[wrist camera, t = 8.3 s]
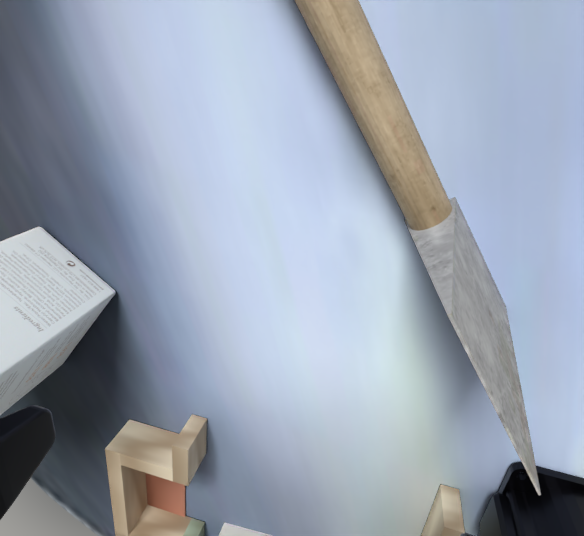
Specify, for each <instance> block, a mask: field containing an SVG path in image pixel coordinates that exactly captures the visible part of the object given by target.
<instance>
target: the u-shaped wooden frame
mask: <svg viewBox="0 0 584 536" xmlns="http://www.w3.org/2000/svg"><path fill="white" fill-rule="evenodd" d="M206 443H207V418H203V417H200V416H196V415H193V414H192V415H191V417H190V418H189V420H188V421H187V423H186V425H185V426H184V428H183V429H182V431H181V432H180V434H178V433H174V432H171V431H167V430H164V429H161V428H157V427H154V426H150V425H147V424H143V423H140V422H137V421H133V420H130V419H129V421H128V422H127V423H126V424H125V425H124V427H123V428H122V429H121V430H120V431H119V433H118V434H117V435H116V436H115V437H114V439H113V440H112V441H111V442H110V443H109V445H108V446H107V447H106V448H105V453H106V461H107V469H108V477H109V486H110V494H111V502H112V510H113V518H114V527H115V535H116V536H204V529H205V522H202V521H199V520H196V519H193V518H190V517H187V516H186V511H185V485H186V486H189V484H190V482H191V480H192V478H193V477H194V475H195V473H196V471H197V469H198V467H199V466H200V464H201V462H202V460H203V458H204V456H205V455H206ZM462 533H465V530H464V523H463V515H462V508H461V500H460V493H459V489H455V488H452V487H448V486H444V485H441V484H440V487H439V489H438V492H437V495H436V497H435V500H434V503H433V505H432V508H431V511H430V513H429V516H428V518H427V521H426V524H425V526H424V529H423V532H422V534H421V536H460V534H462Z"/></svg>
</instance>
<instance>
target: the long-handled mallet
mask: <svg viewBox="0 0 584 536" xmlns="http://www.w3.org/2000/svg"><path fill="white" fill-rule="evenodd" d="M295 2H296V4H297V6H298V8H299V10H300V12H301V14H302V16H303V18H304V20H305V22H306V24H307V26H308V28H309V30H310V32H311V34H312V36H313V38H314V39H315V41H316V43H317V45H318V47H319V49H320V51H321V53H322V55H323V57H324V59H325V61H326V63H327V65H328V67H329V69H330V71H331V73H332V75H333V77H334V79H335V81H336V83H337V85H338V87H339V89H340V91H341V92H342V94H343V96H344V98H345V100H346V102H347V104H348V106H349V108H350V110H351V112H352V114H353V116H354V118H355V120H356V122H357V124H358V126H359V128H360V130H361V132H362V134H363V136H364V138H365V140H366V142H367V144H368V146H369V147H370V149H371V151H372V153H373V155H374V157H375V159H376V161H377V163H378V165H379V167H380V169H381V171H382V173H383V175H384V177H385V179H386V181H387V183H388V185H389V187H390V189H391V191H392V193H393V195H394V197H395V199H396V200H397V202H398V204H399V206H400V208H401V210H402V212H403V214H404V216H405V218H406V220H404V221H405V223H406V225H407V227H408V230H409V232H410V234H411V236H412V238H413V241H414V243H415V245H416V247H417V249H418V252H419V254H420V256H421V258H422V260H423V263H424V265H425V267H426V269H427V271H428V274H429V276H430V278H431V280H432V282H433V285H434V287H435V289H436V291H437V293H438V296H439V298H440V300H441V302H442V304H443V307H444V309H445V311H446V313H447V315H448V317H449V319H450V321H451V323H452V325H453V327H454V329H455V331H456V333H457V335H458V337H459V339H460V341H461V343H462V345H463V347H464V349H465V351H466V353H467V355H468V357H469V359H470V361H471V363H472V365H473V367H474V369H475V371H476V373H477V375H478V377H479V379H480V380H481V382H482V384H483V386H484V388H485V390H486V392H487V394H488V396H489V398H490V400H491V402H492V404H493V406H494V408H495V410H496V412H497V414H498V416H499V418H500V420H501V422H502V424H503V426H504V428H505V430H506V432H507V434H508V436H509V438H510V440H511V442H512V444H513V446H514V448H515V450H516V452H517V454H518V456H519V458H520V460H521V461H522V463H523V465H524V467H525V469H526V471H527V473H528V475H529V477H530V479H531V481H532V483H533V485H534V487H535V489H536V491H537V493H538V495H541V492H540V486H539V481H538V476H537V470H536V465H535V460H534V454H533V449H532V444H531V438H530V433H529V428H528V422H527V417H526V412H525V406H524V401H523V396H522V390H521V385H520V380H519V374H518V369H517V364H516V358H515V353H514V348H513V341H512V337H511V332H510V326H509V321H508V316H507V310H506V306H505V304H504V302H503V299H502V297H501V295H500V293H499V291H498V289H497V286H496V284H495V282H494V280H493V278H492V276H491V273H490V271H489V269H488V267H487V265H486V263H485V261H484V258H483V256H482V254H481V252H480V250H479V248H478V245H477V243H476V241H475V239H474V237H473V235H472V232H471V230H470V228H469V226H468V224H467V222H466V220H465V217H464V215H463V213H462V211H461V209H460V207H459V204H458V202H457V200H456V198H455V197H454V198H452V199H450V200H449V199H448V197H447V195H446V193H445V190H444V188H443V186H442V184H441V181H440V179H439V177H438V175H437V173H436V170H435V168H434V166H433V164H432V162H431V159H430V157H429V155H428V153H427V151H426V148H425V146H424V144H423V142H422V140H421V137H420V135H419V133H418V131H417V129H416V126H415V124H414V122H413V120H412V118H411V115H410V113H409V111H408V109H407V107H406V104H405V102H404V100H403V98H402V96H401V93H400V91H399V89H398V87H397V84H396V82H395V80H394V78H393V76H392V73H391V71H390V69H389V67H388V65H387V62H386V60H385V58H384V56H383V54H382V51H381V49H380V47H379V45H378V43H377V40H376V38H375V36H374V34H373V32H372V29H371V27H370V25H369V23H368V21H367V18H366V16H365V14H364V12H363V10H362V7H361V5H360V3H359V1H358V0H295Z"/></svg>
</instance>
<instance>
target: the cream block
mask: <svg viewBox="0 0 584 536" xmlns="http://www.w3.org/2000/svg"><path fill="white" fill-rule="evenodd" d="M219 536H272V535H268V534H265V533H261V532H258V531H254V530H250V529H247V528H243V527H239V526H236V525H232V524H228V523H225V522H224V524H223V527H222V529H221V531H220V534H219Z"/></svg>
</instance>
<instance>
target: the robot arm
mask: <svg viewBox="0 0 584 536" xmlns="http://www.w3.org/2000/svg"><path fill="white" fill-rule="evenodd" d="M55 437H56V433H55V428H54V423H53V417H52V413H51V411H50V410H49V409H47V408H44V407H40V406H37V405H31V406H28V407H25V408H23V409H21V410H19V411H16V412H14V413H12V414H9V415H7V416H5V417H2V418H0V519H1V518H2V517H3V516H4V514H5V513H6V512H7V510H8V509H9V508H10V506H11V505H12V504H13V502H14V501H15V499H16V498H17V497H18V495H19V494H20V492H21V490H22V489H23V488H24V486H25V485H26V483H27V482H28V481H29V479H30V478H31V476H32V475H33V473H34V472H35V470H36V469H37V467H38V466H39V465H40V463H41V462H42V460H43V459H44V457H45V456H46V454H47V453H48V451H49V450H50V448H51V447H52V445H53V443H54V441H55ZM536 470H537V476H538V481H539V486H540V492H541V495H538V493H537V491H536V489H535V487H534V485H533V483H532V481H531V479H530V477H529V475H528V473H527V471H526V469H525V467H524V465H523V463H522V462H517V463H514V464H512V465H511V466H510V467H509V470H508V472H507V474H506V476H505V478H504V480H503V482H502V484H501V487H500V489H499V491H498V493H495V494H494V495H493V496H492V498H491V500H490V502H489V504H488V506H487V508H486V511H485V513H484V515H483V517H482V519H481V521H480V524H479V526H480V531H479V533H478V536H584V479H583V478H580V477H576V476H572V475H568V474H564V473H561V472H557V471H553V470H549V469H545V468H542V467H538V466H536ZM520 472H523V473H520ZM460 536H475V535H471V534H468V533H462V534H460Z"/></svg>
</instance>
